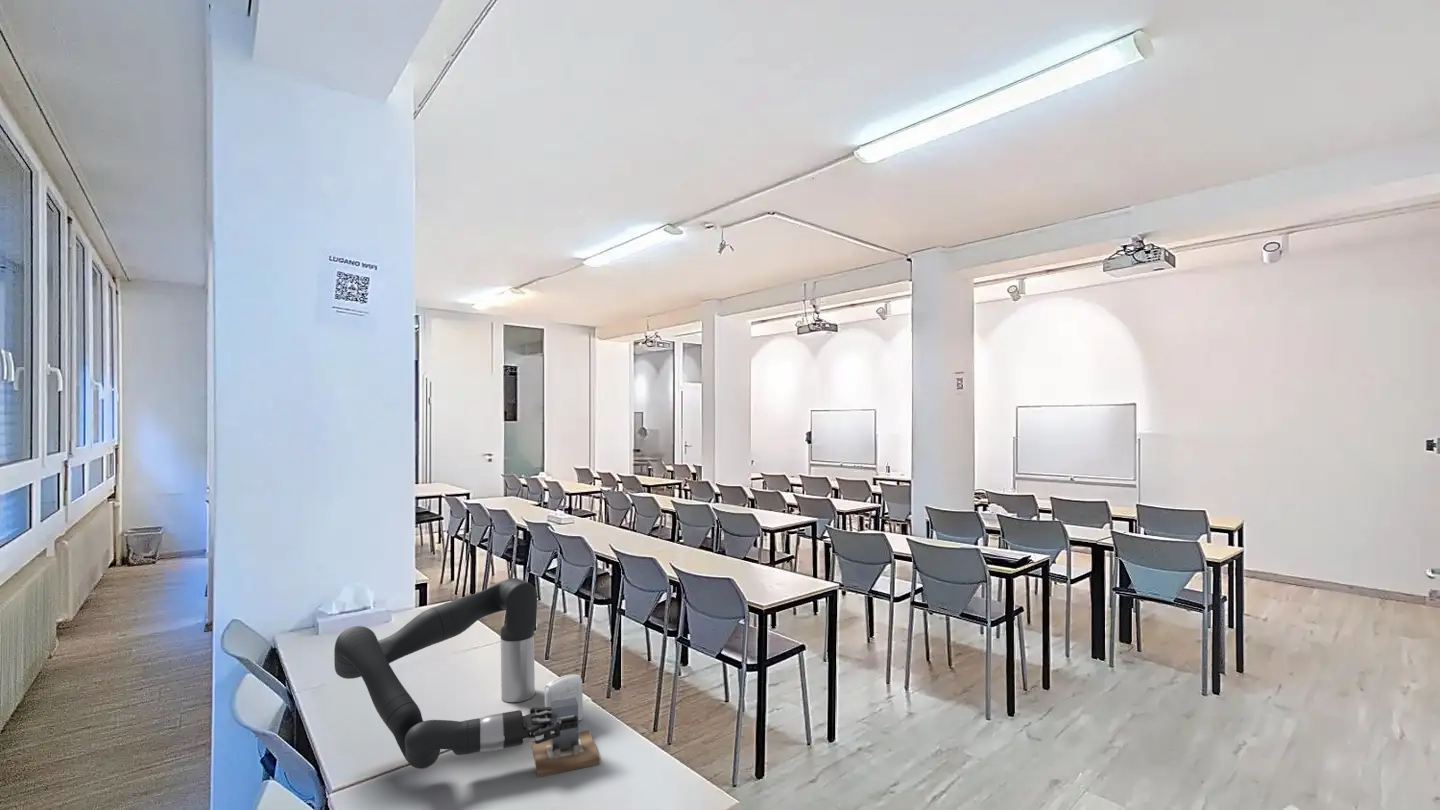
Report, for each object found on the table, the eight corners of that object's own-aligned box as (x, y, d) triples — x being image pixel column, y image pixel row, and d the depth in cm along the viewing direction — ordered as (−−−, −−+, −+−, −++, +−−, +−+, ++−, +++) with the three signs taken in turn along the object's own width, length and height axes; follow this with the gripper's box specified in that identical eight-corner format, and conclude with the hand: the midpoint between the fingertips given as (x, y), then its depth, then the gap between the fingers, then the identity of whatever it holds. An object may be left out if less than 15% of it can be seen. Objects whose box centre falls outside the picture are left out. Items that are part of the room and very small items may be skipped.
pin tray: (531, 747, 161) (531, 732, 161) (589, 736, 166) (588, 722, 166) (537, 777, 148) (537, 761, 148) (599, 764, 153) (599, 749, 153)
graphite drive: (550, 743, 158) (550, 701, 158) (575, 738, 160) (575, 697, 160) (552, 751, 154) (552, 709, 154) (578, 746, 156) (578, 704, 156)
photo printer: (576, 714, 178) (576, 668, 178) (585, 719, 175) (584, 673, 175) (542, 727, 171) (541, 680, 171) (550, 733, 167) (549, 685, 167)
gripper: (499, 732, 158) (572, 719, 165) (502, 762, 145) (581, 747, 151) (499, 701, 158) (571, 690, 165) (502, 728, 145) (580, 715, 151)
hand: (575, 717), depth 158 cm, fingers closed on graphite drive, 4 cm apart
